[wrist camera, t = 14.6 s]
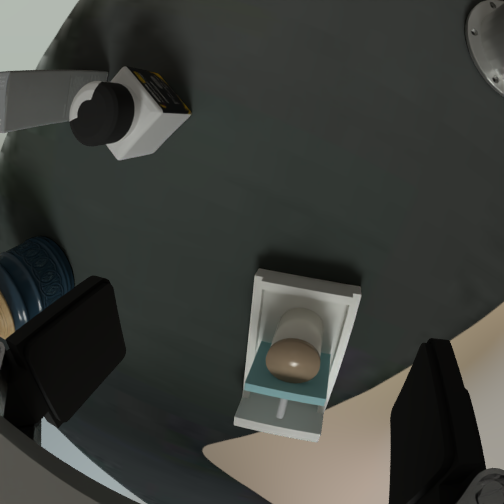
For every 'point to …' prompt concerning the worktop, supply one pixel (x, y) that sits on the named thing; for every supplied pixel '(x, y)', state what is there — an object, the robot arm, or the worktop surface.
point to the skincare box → (40, 96)
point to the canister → (31, 281)
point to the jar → (296, 346)
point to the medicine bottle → (127, 113)
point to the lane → (263, 329)
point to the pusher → (300, 392)
